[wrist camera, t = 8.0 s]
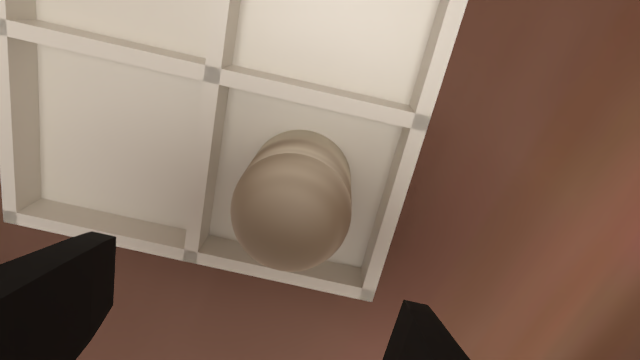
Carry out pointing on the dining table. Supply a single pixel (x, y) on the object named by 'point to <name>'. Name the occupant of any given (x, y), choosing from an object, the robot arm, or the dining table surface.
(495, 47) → the dining table surface
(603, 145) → the dining table surface
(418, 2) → the white compartment tray
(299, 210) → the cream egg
